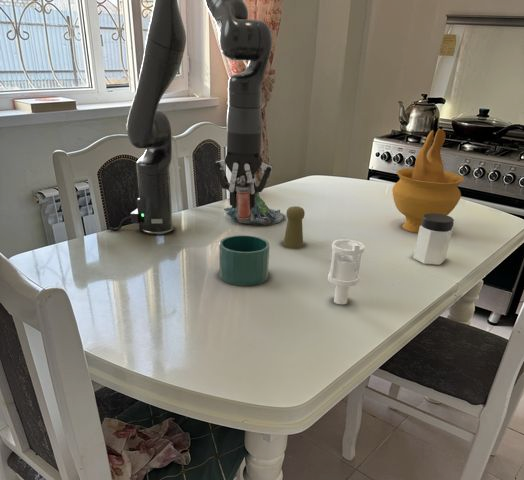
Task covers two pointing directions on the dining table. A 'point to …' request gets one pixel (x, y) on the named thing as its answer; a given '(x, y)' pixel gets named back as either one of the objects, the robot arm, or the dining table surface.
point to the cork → (294, 228)
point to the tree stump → (258, 213)
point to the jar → (433, 238)
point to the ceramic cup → (244, 260)
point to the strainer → (345, 268)
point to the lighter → (243, 200)
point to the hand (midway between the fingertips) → (242, 207)
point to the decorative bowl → (426, 185)
